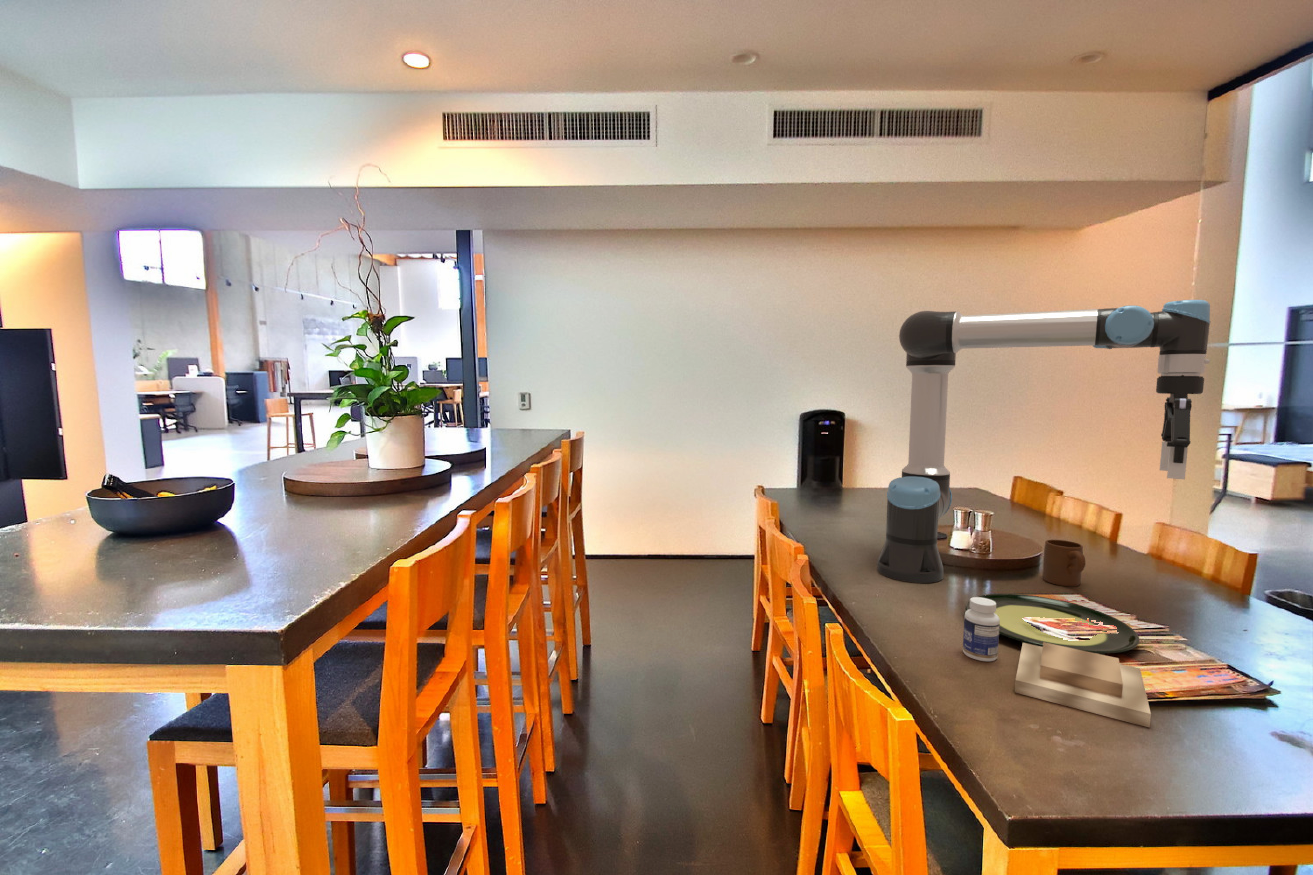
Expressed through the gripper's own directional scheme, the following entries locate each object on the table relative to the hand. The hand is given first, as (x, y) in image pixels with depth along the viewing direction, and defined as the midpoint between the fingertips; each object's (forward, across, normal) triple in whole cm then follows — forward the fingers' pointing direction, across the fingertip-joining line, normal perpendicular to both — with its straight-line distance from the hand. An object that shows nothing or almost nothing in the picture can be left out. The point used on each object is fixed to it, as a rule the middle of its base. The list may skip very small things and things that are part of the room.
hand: (1171, 474), depth 127 cm
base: (+28, -56, +15) cm, 64 cm away
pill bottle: (+28, -53, +29) cm, 67 cm away
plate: (+28, -33, +20) cm, 48 cm away
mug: (+28, 0, +17) cm, 33 cm away
